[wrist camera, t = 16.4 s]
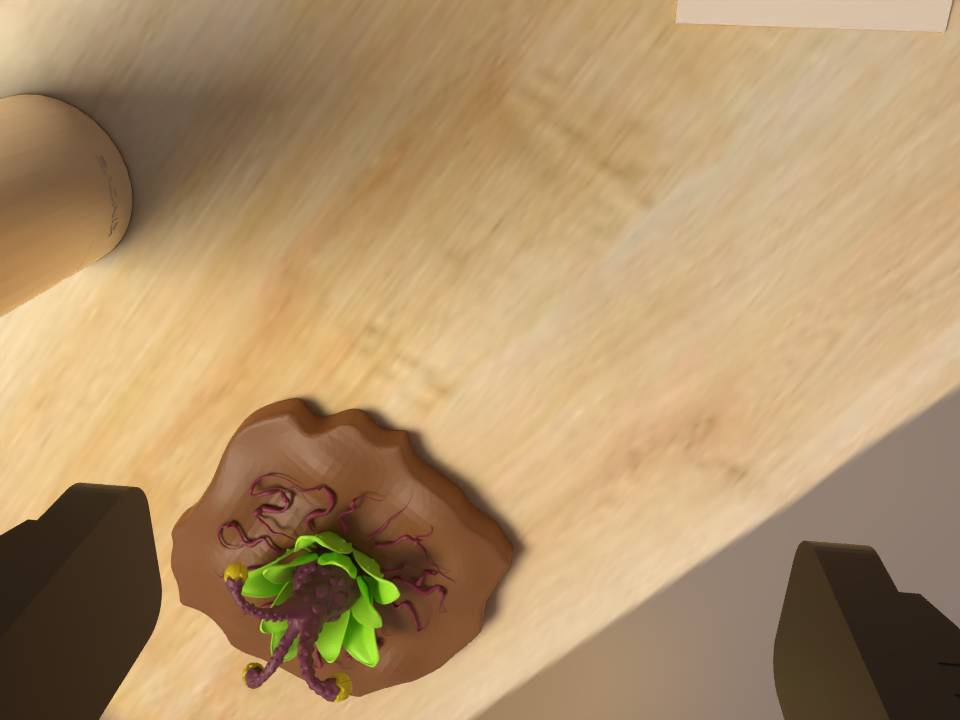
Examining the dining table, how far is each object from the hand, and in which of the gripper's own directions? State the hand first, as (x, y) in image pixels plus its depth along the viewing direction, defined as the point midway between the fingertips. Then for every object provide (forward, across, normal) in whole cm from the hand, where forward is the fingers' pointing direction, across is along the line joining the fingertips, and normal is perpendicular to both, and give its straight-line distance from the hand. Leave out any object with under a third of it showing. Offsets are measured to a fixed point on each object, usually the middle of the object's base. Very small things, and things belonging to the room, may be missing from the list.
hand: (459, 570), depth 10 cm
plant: (+35, +11, +27) cm, 45 cm away
